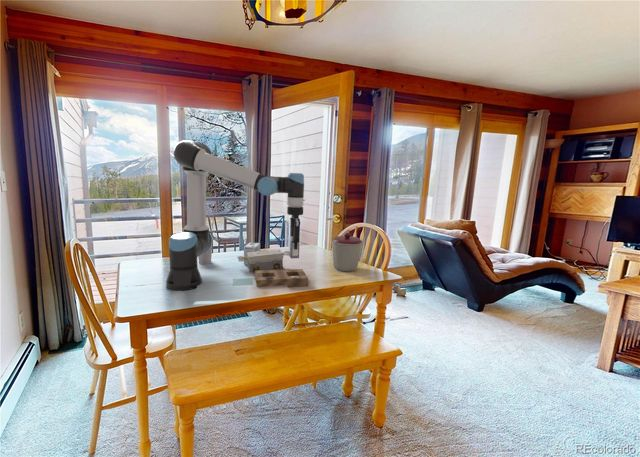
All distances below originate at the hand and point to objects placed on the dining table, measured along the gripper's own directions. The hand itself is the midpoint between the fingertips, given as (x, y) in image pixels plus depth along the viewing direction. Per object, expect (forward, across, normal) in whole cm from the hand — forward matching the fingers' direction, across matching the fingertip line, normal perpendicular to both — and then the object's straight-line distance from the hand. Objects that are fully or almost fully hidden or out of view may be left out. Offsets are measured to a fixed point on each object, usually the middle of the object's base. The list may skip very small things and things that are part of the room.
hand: (294, 254), depth 157 cm
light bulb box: (+14, +34, +18) cm, 41 cm away
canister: (+14, +17, -33) cm, 40 cm away
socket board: (+14, 0, +6) cm, 15 cm away
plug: (+2, 0, 0) cm, 2 cm away
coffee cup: (+14, +37, +44) cm, 59 cm away
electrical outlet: (+14, +20, +12) cm, 27 cm away
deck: (+14, 0, +24) cm, 28 cm away
